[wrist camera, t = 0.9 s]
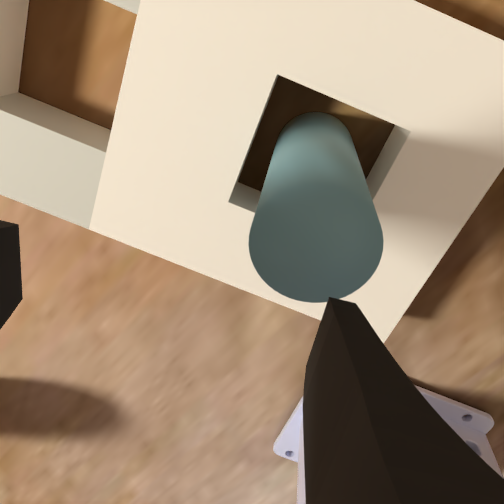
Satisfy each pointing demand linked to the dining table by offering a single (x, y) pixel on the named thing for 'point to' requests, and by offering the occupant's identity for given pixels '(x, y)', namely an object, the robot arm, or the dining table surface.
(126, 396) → the dining table surface
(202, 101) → the peg board
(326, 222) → the peg
